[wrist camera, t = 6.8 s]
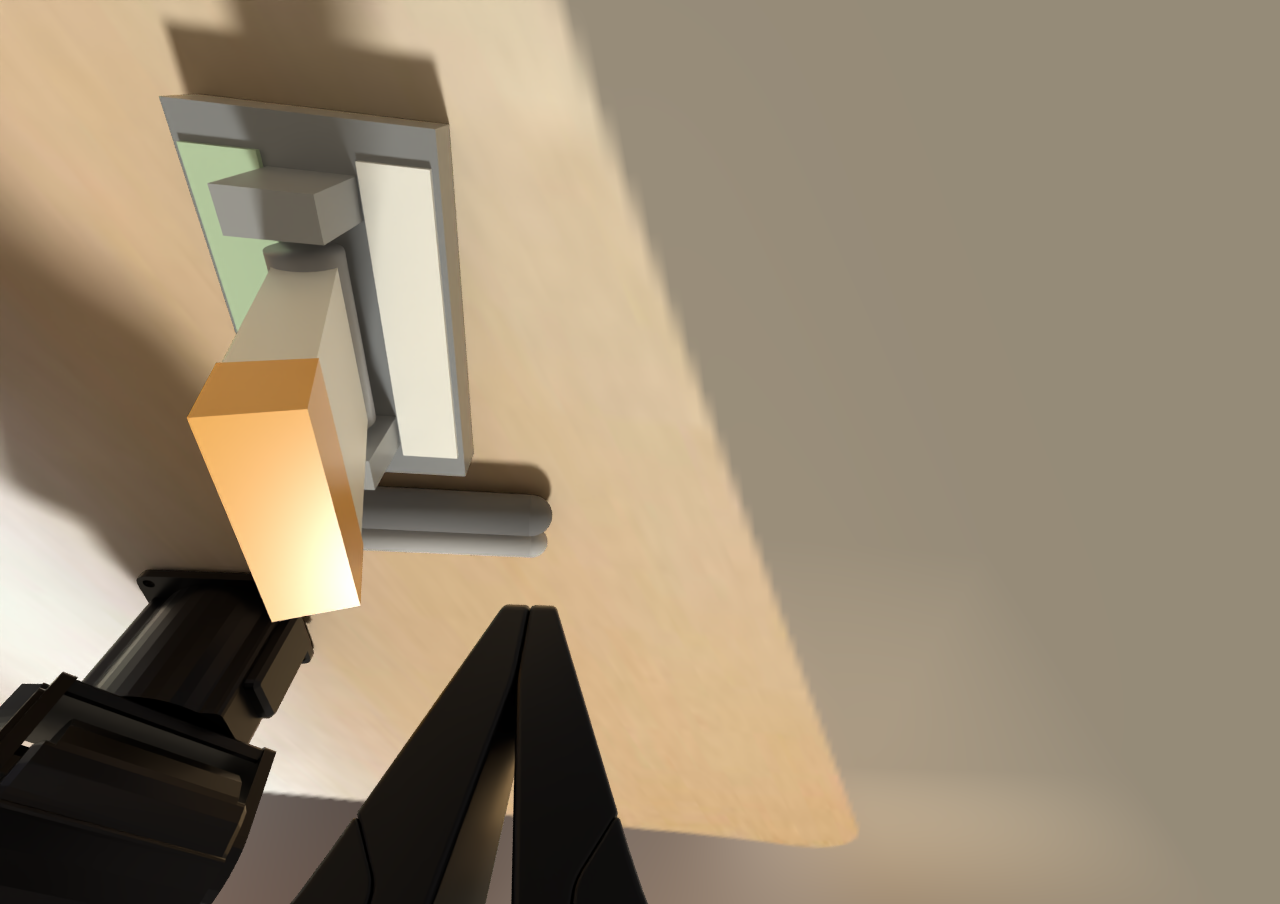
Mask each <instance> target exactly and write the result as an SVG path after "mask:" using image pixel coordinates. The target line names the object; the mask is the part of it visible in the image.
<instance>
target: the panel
mask: <svg viewBox="0 0 1280 904" xmlns="http://www.w3.org/2000/svg"><path fill="white" fill-rule="evenodd" d="M159 98H160V101H161V104H162V108H163V111H164V114H165V117H166V120H167V123H168V126H169V129H170V132H171V135H172V138H173V141H174V144H175V148H176V151H177V154H178V157H179V160H180V163H181V166H182V169H183V172H184V175H185V178H186V181H187V185H188V188H189V191H190V194H191V197H192V200H193V203H194V206H195V209H196V212H197V215H198V218H199V221H200V225H201V228H202V231H203V234H204V237H205V240H206V243H207V246H208V249H209V252H210V255H211V258H212V261H213V265H214V268H215V271H216V274H217V277H218V280H219V283H220V286H221V289H222V292H223V295H224V298H225V302H226V305H227V308H228V311H229V314H230V317H231V320H232V323H233V326H234V329H235V332H236V334H237V332H238V330H239V328H240V326H241V324H242V322H243V320H244V318H245V316H246V314H247V312H248V311H249V309H250V307H251V305H252V303H253V301H254V299H255V297H256V295H257V293H258V291H259V289H260V287H261V285H262V283H263V282H264V280H265V278H266V276H267V274H268V270H267V266H266V262H265V259H264V255H263V249H264V248H265V247H267V246H269V245H271V244H275V243H279V242H293V243H303V244H314V245H326V244H327V243H329V242H331V243H335V244H338V245H341V246H342V247H343V248H344V249H345V254H346V259H347V264H348V270H349V275H350V280H351V286H352V291H353V296H354V302H355V307H356V312H357V318H358V323H359V328H360V333H361V339H362V344H363V349H364V355H365V360H366V365H367V371H368V376H369V381H370V387H371V392H372V397H373V402H374V408H375V413H376V421H375V422H374V424H373V425H372V426H371V427H369V428H368V429H367V443H366V461H365V479H364V490H375V489H376V487H377V486H378V484H379V482H380V480H381V478H382V477H383V475H384V473H385V472H395V473H413V474H430V475H447V476H465V477H466V474H467V471H468V468H469V465H470V462H471V460H472V457H473V454H474V452H473V438H472V425H471V411H470V398H469V384H468V371H467V358H466V344H465V331H464V317H463V304H462V291H461V277H460V264H459V250H458V237H457V223H456V210H455V197H454V183H453V170H452V156H451V143H450V130H449V124H442V123H434V122H425V121H417V120H409V119H401V118H392V117H384V116H376V115H367V114H359V113H351V112H343V111H334V110H326V109H318V108H309V107H301V106H293V105H285V104H276V103H268V102H260V101H251V100H243V99H235V98H227V97H218V96H210V95H202V94H186V95H170V96H159Z"/></svg>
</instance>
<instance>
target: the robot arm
mask: <svg viewBox="0 0 1280 904" xmlns="http://www.w3.org/2000/svg"><path fill="white" fill-rule="evenodd" d="M137 584H138V585H139V587H140V589H141V591H142V592H143V594H144V596H145V597H146V599H147V601H148V602H149V604H148V605H147V606H146V607H145V608H144V610H143V611H142V612H141V613H140V614H139V615H138V617H137V618H136V619H135V620H134V621H133V622H132V624H131V625H130V626H129V627H128V628H127V629H126V630H125V632H124V633H123V634H122V635H121V636H120V637H119V639H118V640H117V641H116V642H115V643H114V644H113V646H112V647H111V648H110V649H109V650H108V651H107V653H106V654H105V655H104V656H103V657H102V658H101V660H100V661H99V662H98V663H97V664H96V665H95V667H94V668H93V669H92V670H91V671H90V672H89V674H88V675H87V676H86V677H85V678H84V679H83V681H82V682H81V681H79V680H76V679H77V678H78V677H76V676H73V675H71V674H68V673H65V672H62V673H61V674H60V675H59V676H58V677H57V678H56V679H55V680H54V681H53V682H52V683H51V684H50V685H49V684H46V683H43V684H21V685H20V687H19V688H18V689H17V690H16V691H15V692H14V693H13V694H12V695H11V696H10V697H9V698H8V699H7V700H6V701H5V702H4V703H3V704H2V705H1V706H0V904H212V902H213V901H214V899H215V898H216V897H217V895H218V894H219V892H220V891H221V889H222V888H223V886H224V884H225V882H226V881H227V879H228V878H229V876H230V874H231V872H232V870H233V869H234V867H235V865H236V863H237V861H238V859H239V857H240V855H241V852H242V850H243V848H244V845H245V843H246V840H247V838H248V834H249V832H250V829H251V826H252V823H253V820H254V817H255V814H256V811H257V808H258V805H259V801H260V799H261V796H262V793H263V790H264V787H265V784H266V781H267V778H268V775H269V772H270V769H271V766H272V763H273V760H274V757H275V754H276V751H273V750H271V749H268V748H265V747H264V748H262V749H261V748H258V747H256V746H253V745H250V744H249V743H250V741H251V739H252V737H253V735H254V733H255V731H256V729H257V728H258V726H259V724H260V722H261V720H262V718H271V717H272V716H273V715H274V714H275V713H276V712H277V710H278V708H279V706H280V704H281V702H282V700H283V698H284V696H285V694H286V692H287V690H288V688H289V686H290V684H291V682H292V681H293V679H294V677H295V675H296V673H297V671H298V669H299V667H300V665H301V664H304V663H308V662H310V660H311V658H312V656H313V654H314V651H313V648H312V646H311V641H310V638H309V635H308V633H307V630H306V627H305V625H304V622H303V619H302V617H297V618H292V619H286V620H281V621H275V622H272V621H271V619H270V616H269V614H268V612H267V609H266V607H265V604H264V602H263V600H262V597H261V595H260V592H259V590H258V588H257V585H256V583H255V580H254V578H253V576H252V574H241V573H215V572H189V571H163V570H146V571H144V572H143V573H142V574H141V575H140V576H139V577H138V578H137ZM24 741H28V742H31V743H34V744H33V745H32V746H31V747H30V748H29V747H26V746H23V745H21V744H22V743H23V742H24ZM513 778H514V808H513V853H512V855H513V856H512V900H511V901H512V902H511V904H648V903H647V900H646V898H645V895H644V892H643V890H642V887H641V884H640V881H639V878H638V875H637V872H636V869H635V866H634V863H633V860H632V857H631V854H630V851H629V848H628V845H627V841H626V838H625V834H624V831H623V828H622V824H621V821H620V819H619V818H617V814H618V812H617V808H616V805H615V802H614V798H613V795H612V792H611V788H610V785H609V782H608V778H607V775H606V772H605V768H604V765H603V762H602V758H601V755H600V751H599V748H598V745H597V741H596V738H595V735H594V731H593V728H592V725H591V721H590V718H589V715H588V711H587V708H586V705H585V701H584V698H583V695H582V691H581V688H580V685H579V681H578V678H577V675H576V671H575V668H574V665H573V661H572V658H571V654H570V651H569V648H568V644H567V641H566V638H565V634H564V631H563V628H562V624H561V621H560V618H559V614H558V611H557V609H556V607H554V606H542V605H535V606H532V607H531V608H529V606H527V605H505V606H504V607H503V608H502V609H501V610H500V611H499V613H498V614H497V615H496V617H495V618H494V620H493V621H492V622H491V624H490V625H489V627H488V628H487V630H486V631H485V632H484V634H483V635H482V637H481V638H480V639H479V641H478V642H477V644H476V645H475V647H474V648H473V649H472V651H471V652H470V654H469V655H468V656H467V658H466V659H465V661H464V662H463V664H462V665H461V666H460V668H459V669H458V671H457V672H456V673H455V675H454V676H453V678H452V679H451V681H450V682H449V683H448V685H447V686H446V688H445V689H444V691H443V692H442V693H441V695H440V696H439V698H438V699H437V700H436V702H435V703H434V705H433V706H432V708H431V709H430V710H429V712H428V713H427V715H426V716H425V717H424V719H423V720H422V722H421V723H420V725H419V726H418V727H417V729H416V730H415V732H414V733H413V734H412V736H411V737H410V739H409V740H408V742H407V743H406V744H405V746H404V747H403V749H402V750H401V751H400V753H399V754H398V756H397V757H396V759H395V760H394V761H393V763H392V764H391V766H390V767H389V768H388V770H387V771H386V773H385V774H384V776H383V777H382V778H381V780H380V781H379V783H378V784H377V785H376V787H375V788H374V790H373V791H372V793H371V794H370V795H369V797H368V798H367V800H366V801H365V803H364V804H363V805H362V807H361V808H360V810H359V811H358V814H357V815H358V819H357V818H354V819H353V820H352V821H351V822H350V823H349V825H348V826H347V828H346V829H345V830H344V832H343V833H342V835H341V836H340V838H339V839H338V840H337V842H336V843H335V845H334V846H333V847H332V849H331V850H330V852H329V853H328V854H327V856H326V857H325V858H324V860H323V861H322V863H321V864H320V865H319V867H318V868H317V869H316V871H315V872H314V873H313V875H312V876H311V878H310V879H309V880H308V881H307V883H306V884H305V886H304V887H303V888H302V890H301V891H300V892H299V893H298V895H297V896H296V897H295V899H294V900H293V901H292V902H291V904H485V903H486V899H487V894H488V890H489V885H490V881H491V876H492V872H493V867H494V863H495V858H496V854H497V850H498V845H499V840H500V835H501V832H502V827H503V823H504V818H505V814H506V809H507V805H508V800H509V796H510V791H511V787H512V782H513Z"/></svg>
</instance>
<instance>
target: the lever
mask: <svg viewBox="0 0 1280 904" xmlns="http://www.w3.org/2000/svg"><path fill="white" fill-rule="evenodd" d="M263 255H264V259H265V262H266V266H267V270H268V274H267V276H266V278H265V280H264V282H263V283H262V285H261V287H260V289H259V291H258V293H257V295H256V297H255V299H254V301H253V303H252V305H251V307H250V309H249V311H248V312H247V314H246V316H245V318H244V320H243V322H242V324H241V326H240V328H239V330H238V332H237V334H236V336H235V338H234V339H233V341H232V343H231V345H230V347H229V349H228V351H227V353H226V355H225V357H224V359H223V361H222V363H216V364H215V366H214V368H213V370H212V372H211V373H210V375H209V377H208V379H207V381H206V383H205V385H204V387H203V388H202V390H201V392H200V394H199V396H198V398H197V400H196V402H195V403H194V405H193V407H192V409H191V411H190V413H189V415H188V417H187V420H188V422H189V425H190V427H191V429H192V432H193V434H194V437H195V439H196V441H197V444H198V446H199V449H200V451H201V453H202V456H203V458H204V461H205V463H206V465H207V468H208V470H209V473H210V475H211V477H212V480H213V482H214V485H215V487H216V489H217V492H218V494H219V497H220V499H221V501H222V504H223V506H224V509H225V511H226V513H227V516H228V518H229V520H230V523H231V525H232V528H233V530H234V532H235V535H236V537H237V540H238V542H239V544H240V547H241V549H242V552H243V554H244V556H245V559H246V561H247V564H248V566H249V568H250V571H251V573H252V576H253V578H254V580H255V583H256V585H257V588H258V590H259V592H260V595H261V597H262V600H263V602H264V604H265V607H266V609H267V612H268V614H269V616H270V619H271V621H272V622H275V621H281V620H286V619H292V618H297V617H302V616H308V615H313V614H318V613H324V612H329V611H334V610H340V609H345V608H351V607H356V606H360V601H361V582H362V562H363V540H362V536H361V532H362V514H363V496H364V479H365V461H366V443H367V429H368V428H369V427H371V426H372V425H373V424H374V422H375V421H376V413H375V408H374V402H373V397H372V392H371V387H370V381H369V376H368V371H367V365H366V360H365V355H364V349H363V344H362V339H361V333H360V328H359V323H358V318H357V312H356V307H355V302H354V296H353V291H352V286H351V280H350V275H349V270H348V264H347V259H346V254H345V249H344V248H343V247H342V246H341V245H338V244H335V243H331V242H329V243H327V244H326V245H314V244H303V243H293V242H279V243H275V244H271V245H269V246H267V247H265V248H264V249H263Z"/></svg>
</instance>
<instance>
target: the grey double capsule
mask: <svg viewBox="0 0 1280 904" xmlns="http://www.w3.org/2000/svg"><path fill="white" fill-rule="evenodd" d="M551 520H552V510H551V507H550V505H549V504H548V502H547V501H546V500H545V499H543V498H542V497H540V496H536V495H526V494H508V493H490V492H471V491H453V490H435V489H417V488H399V487H381V486H377V487H376V489H375V490H364V496H363V514H362V532H361V536H362V540H363V550H370V551H392V552H415V553H438V554H461V555H484V556H507V557H530V558H532V557H537V556H539V555H541V554H542V553H543V552H544V551H545V549H546V547H547V537H546V534H545V533H544V531H545V530H546V529H547V528H548V527H549V525H550V523H551Z"/></svg>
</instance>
